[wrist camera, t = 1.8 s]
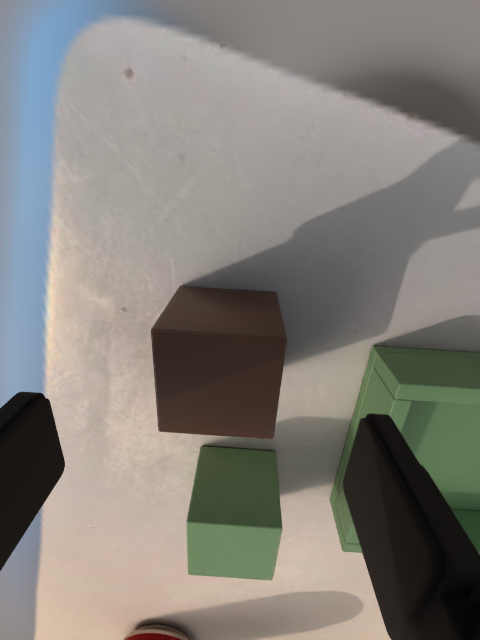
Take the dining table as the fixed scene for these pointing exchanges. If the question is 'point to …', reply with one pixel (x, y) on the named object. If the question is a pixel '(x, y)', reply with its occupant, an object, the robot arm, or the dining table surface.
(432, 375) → the green tray
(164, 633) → the soda can
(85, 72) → the dining table surface
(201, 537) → the green block
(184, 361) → the walnut block
